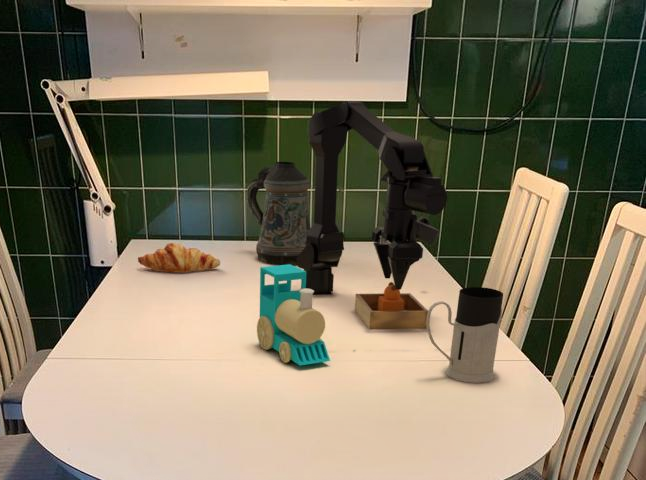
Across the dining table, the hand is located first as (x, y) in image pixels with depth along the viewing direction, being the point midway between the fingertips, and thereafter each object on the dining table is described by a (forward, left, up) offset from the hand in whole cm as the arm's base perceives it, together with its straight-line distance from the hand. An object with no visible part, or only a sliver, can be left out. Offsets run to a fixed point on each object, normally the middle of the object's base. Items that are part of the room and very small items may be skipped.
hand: (392, 283), depth 174 cm
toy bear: (0, 0, -8) cm, 8 cm away
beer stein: (-16, +59, -8) cm, 62 cm away
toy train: (-24, -21, -8) cm, 33 cm away
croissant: (-44, +47, -8) cm, 65 cm away
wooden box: (0, 0, -8) cm, 8 cm away
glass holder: (+4, -34, -8) cm, 35 cm away
